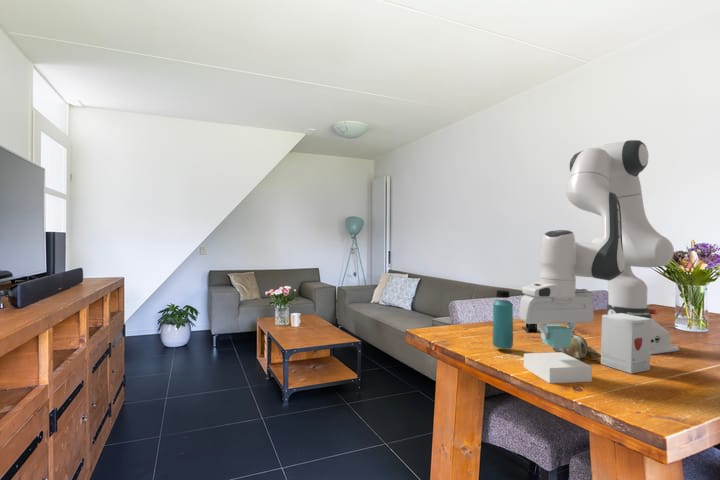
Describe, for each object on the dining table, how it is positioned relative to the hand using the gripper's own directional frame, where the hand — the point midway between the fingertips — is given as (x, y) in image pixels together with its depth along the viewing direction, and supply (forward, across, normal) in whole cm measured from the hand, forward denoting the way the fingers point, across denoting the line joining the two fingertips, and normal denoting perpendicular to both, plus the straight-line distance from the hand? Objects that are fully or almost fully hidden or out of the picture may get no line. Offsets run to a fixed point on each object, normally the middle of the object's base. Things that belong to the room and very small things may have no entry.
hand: (556, 338), depth 104 cm
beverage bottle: (+10, +4, -22) cm, 24 cm away
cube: (+2, 0, 0) cm, 2 cm away
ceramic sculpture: (+10, -15, -13) cm, 23 cm away
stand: (+10, 0, 0) cm, 10 cm away
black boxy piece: (+10, -22, -47) cm, 53 cm away
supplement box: (+10, -24, -3) cm, 26 cm away
